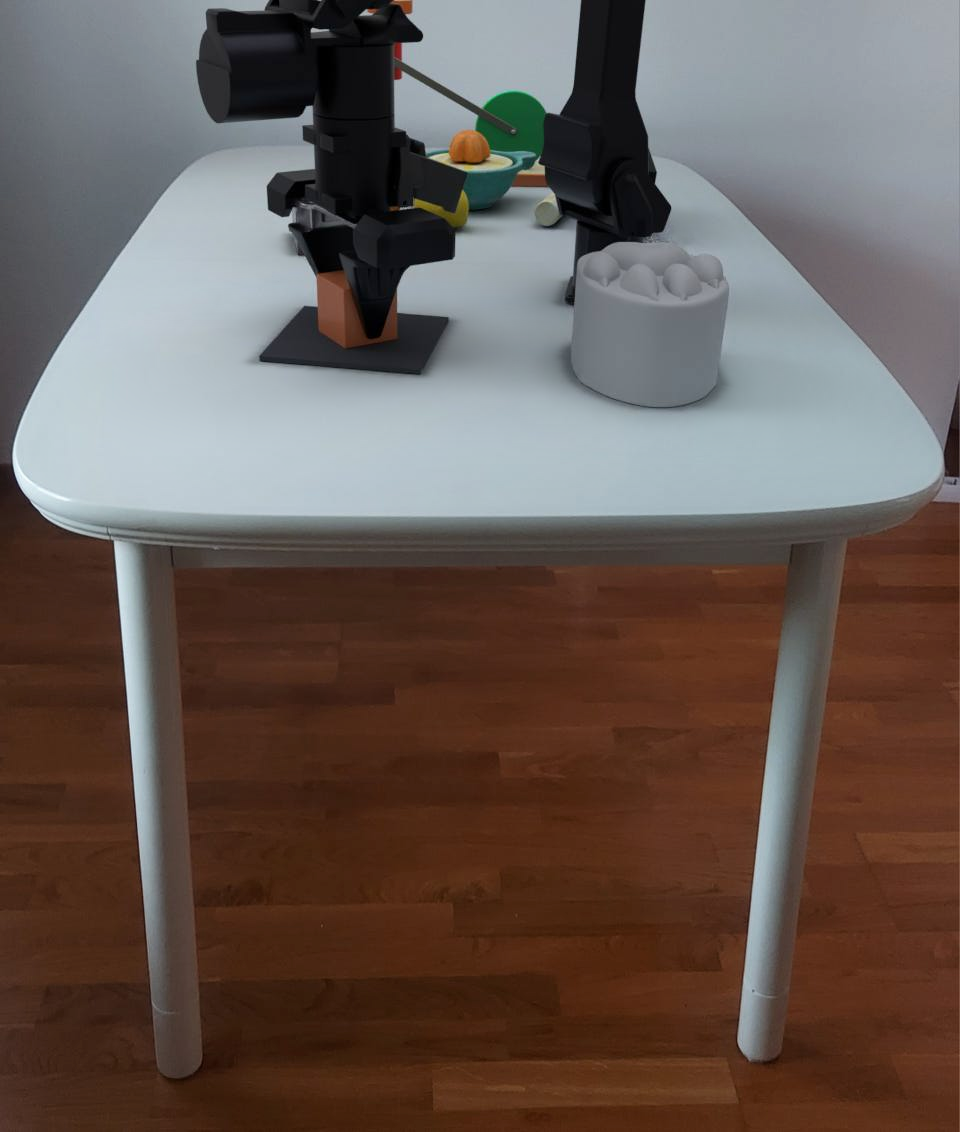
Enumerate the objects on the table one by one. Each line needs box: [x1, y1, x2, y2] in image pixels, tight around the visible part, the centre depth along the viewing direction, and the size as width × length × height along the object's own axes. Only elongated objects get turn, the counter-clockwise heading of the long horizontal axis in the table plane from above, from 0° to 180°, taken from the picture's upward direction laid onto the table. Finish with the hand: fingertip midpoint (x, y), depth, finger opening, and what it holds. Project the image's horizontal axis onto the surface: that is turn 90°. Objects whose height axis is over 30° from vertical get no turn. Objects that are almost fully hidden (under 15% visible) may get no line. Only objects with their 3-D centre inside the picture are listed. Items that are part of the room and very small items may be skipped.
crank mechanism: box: [366, 0, 550, 188], centre depth 135 cm, size 25×7×19 cm, turn 93°
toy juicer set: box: [390, 129, 563, 229], centre depth 124 cm, size 29×18×8 cm, turn 93°
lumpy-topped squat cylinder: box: [570, 241, 730, 408], centre depth 84 cm, size 10×13×9 cm
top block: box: [315, 270, 398, 348], centre depth 89 cm, size 4×4×4 cm
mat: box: [258, 305, 450, 375], centre depth 90 cm, size 12×12×1 cm
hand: (358, 328), depth 90 cm, fingers open, 4 cm apart
